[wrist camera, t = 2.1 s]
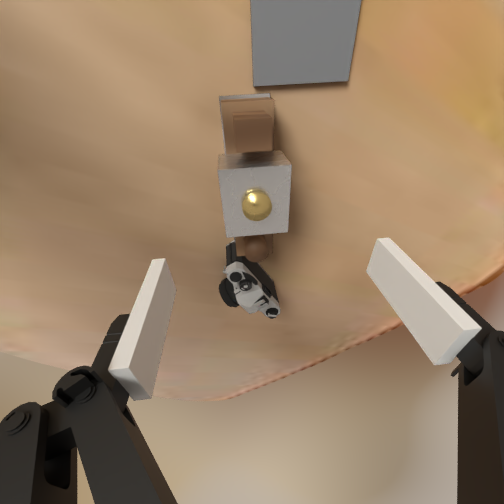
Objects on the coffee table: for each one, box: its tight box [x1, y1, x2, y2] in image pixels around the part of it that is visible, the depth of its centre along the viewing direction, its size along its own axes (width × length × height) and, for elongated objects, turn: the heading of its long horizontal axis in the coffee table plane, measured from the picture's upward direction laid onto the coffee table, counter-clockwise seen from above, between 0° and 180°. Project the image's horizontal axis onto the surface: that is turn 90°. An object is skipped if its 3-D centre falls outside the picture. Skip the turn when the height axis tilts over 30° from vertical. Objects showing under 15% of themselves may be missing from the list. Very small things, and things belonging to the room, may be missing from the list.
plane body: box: [219, 93, 274, 262], centre depth 27 cm, size 19×5×10 cm, turn 3°
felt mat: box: [250, 0, 361, 86], centre depth 22 cm, size 10×9×1 cm
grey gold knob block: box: [218, 150, 292, 238], centre depth 24 cm, size 6×7×6 cm
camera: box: [219, 240, 280, 319], centre depth 37 cm, size 13×8×9 cm, turn 35°
